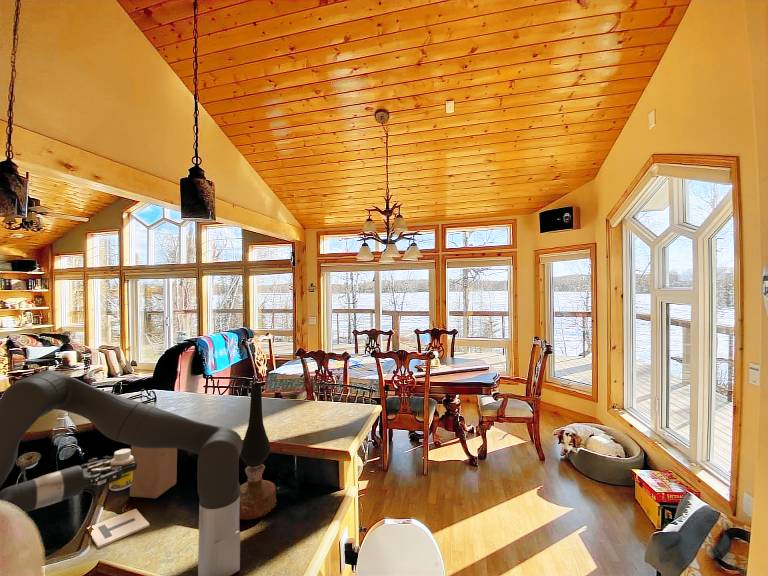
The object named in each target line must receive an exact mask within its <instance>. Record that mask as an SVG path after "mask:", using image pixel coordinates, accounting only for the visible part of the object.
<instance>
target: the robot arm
mask: <svg viewBox="0 0 768 576" xmlns="http://www.w3.org/2000/svg"><path fill="white" fill-rule="evenodd" d="M53 410H58V411H64V412H67V413H70V414H75V415H77V416H80V417H82V418H84V419H87V420H88V421H89V422H90V423H91V424H92V425H94V427H95V428H97V430H98V431H99V432H100V433H101V434H102V435H104V437H106V438H107V439H110V440H113V441H115V442H118V443H122V444H125V445H128V446H130V447H131V446H135V447H140V448H177V450H178V449H179V450H184V451H188V452H191V453H193V454H196V455H198V456H197V466H196V467H197V469H196V470H197V475H196V478H197V487H196V488H197V494H198V498H199V503H198V504H199V506H198V507H199V509H198V546H197V547H198V549H197V550H198V551H197V552H198V553H197V554H198V555H197V556H198V557H197V559H198V561H197V563H198V564H197V567H198V568H197V570H198V571H197V573H198V574H197V576H232V575H234V574H236V573H237V572H239V571H240V569H241V530H240V519H239V514H240V486H241V484H240V482H239V480H240V479H239V475H240V474H239V473H240V472H239V465H240V453H241V450H242V445H243V444H242V442H243V439H242V437H241V435H240V434H238V432H237V431H235V430H233V429H230V428H228V427H224V426H223V427H222V426H218V425H213V424H209V423H204V422H200V421H196V420H192V419H190V418H187V417H185V416H181V415H179V414H175V413H172V412H170V411H167V410H164V409H161V408H158V407H155V406H153V405H150V404H146V403H143V402H140V401H138V400H133V399H131V398H127V397H125V396H124V397H123V396H121V395H118V394H115V393H113V392H109V391H106V390H103V389H100V388H98V387H95V386H92V385H90V384H89V383H85V382H84V381H82V380H79V379H78V378H75V377H73V376H70V375H68V374H65V373H63V372H59V371H55V370H45V371H40V372H37V373H34V374H32V375H30V376H27V377H24V378H22V379H20V380H18V381H16V382H14V383H12V384H10V386H8V387H7V388H6V389H5V391H4V392H3V393H2V395H1V397H0V488H1V487H2V485H3V484H4V483H5V481H6V479H7V478H8V476H9V474H10V473H11V471H12V470H13V468H14V466H15V464H16V461H17V457H18V452H19V445H20V442H21V440H22V439H23V437H24V435H25V434H26V433H27V432H28V430H29V429H30V428H31V427H32V426H33V425H34V424H35V423H36V421H38V419H40V418H41V417H43V416H45V415H47V414H49V413H50V412H52V411H53ZM111 460H112V459H107V458H105V459H104V458H103V459H99V460H96V461H92V462H86V463H83V464H81V465H79V464H78V465H74V466H70V467H67V468H64V469H61V470H57V471H54V472H50V473H47V474H44V475H41V476H38V477H36V478H33V479H30V480H26V481H23V482H20V483H16V484H13V485H10V486H8V487H5V488H3V489H2V490H1V491H0V499H1V500H5V501H8V502H11V503H13V504H15V505H17V506H18V507H20V508H21V509H22V510H23V511H25V513H28V512H31V511H33V510H37V509H39V508H40V509H41V508H45V507H48V506H52V505H53V504H56V503H60V502H62V501H64V500H68V499H71V498H74V497H77V496H79V495H80V494H82V493H83V491H84V489H85V488H86V487H88V486H93V485H94V486H95V485H96V488H97V489H99V488H103V487H105V486H107V485H108V486H109V484H110V483H112V482H115V481H117V480H119V479H121V478H122V474H125V473H128V472H130V471H133V470H136V468H137V463H136V462H132V463H129V464H126V465H123V466H119V467H114V468H112V467H110V462H111ZM115 470H116V471H115ZM112 471H113V472H112Z"/></svg>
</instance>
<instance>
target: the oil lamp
mask: <svg viewBox="0 0 768 576" xmlns="http://www.w3.org/2000/svg"><path fill="white" fill-rule="evenodd" d="M250 387H251V389H250V405H249V418H248V424H247V428H246V432H245V435H244V438H243V439H242V444H243V445H242V450H241V453H240V456H239V458H240V459H241V460H242V462H244V464H246V465H247V467H245V469H244V471H245V474H246V476H247V481H246V482H244V483H242V484H240V514H239V520H254V518H255V519H259V518H261V516H262V517H264V516H266V515H268V514H269V513H268V512H270V511H271V509H273V508H274V507H275V508H276V506H277V503H276V502H277V499H276V498H277V495H276V494H277V490H276V489H277V487H276V485H275V483H273V482H272V481H270V480H265V479H263V476H262V475H263V473H264V472H265V469H266V466H265V465H264V461H266V460H267V459H268V457H269V455H270V453H271V444H270V440H269V437H268V435H267V431H266V428H265V424H264V419H263V418H264V416H263V399H262V398H263V396H262V384H261V383H253V384H251V386H250ZM275 503H276V504H275ZM275 505H276V506H275ZM275 508H274V509H275ZM274 509H273V510H274ZM271 512H272V511H271ZM271 512H270V513H271ZM267 513H268V514H267ZM265 514H266V515H265ZM263 515H264V516H263ZM258 517H259V518H258Z"/></svg>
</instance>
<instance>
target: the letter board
mask: <svg viewBox="0 0 768 576" xmlns="http://www.w3.org/2000/svg"><path fill="white" fill-rule="evenodd" d="M91 526H92V528H93V529H94V530H92V532H91V536H92V537H91V536H90V537H91V539H92V541H93V542H94V544H95V546H96V547H97V549H100V548H104V547H105V546H108V545H109V544H112V543H114V542H116V541H118V540H119V541H120V540H121V539H123V538H126V537H127V536H131V535H133V534H134V533H137V532H139V531H141V530H143V529H146V528H148V527H150V523H149V521H148V520H147V519H146V518H145V517H144V516H143V514H141V513H140V512H139V510H138V509H137V508H134V509H131V510H129V511H126V512H124V513H121V514H119V515H116V516H113V517H111V518H108V519H106V520H103V521H101V522H98V523H96V524H93V525H91ZM91 526H88V527H87V528H86V530H87V529H89V528H90V527H91Z"/></svg>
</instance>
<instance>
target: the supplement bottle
mask: <svg viewBox="0 0 768 576" xmlns="http://www.w3.org/2000/svg"><path fill="white" fill-rule="evenodd" d="M110 460H111V462H110V467H112V468H114V467H119V466H123V465H126V464H129V463H132V462H133V461H134V457H133V456H132V455H131V448H121V449H119V450H116V451H114V453H113V458H112V459H110ZM115 471H116V470H115ZM112 472H113V471H112ZM132 480H133V471H130V472H128V473H125V474H122V478H121V479H119V480H117V481H115V482H112V483H110V484H108V489H109V490H111V491H114V492H115V491H117V492H118V491H121V490H125V489H127V488H130V485H131V484H132Z"/></svg>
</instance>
